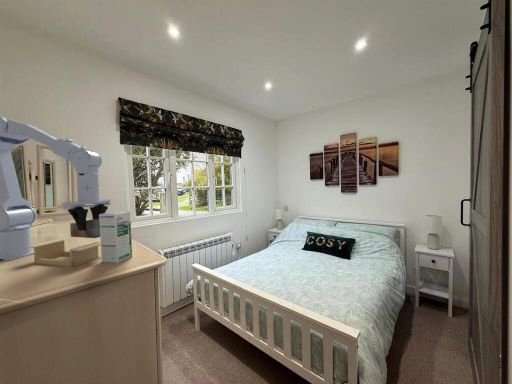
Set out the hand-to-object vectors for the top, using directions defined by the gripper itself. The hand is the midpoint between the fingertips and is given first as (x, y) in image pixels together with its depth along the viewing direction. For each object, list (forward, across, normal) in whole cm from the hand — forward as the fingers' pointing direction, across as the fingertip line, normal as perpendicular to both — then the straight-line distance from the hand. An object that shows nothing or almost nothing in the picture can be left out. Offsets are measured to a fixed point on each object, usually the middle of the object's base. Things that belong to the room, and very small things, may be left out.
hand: (89, 228), depth 72 cm
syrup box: (+9, -3, -14) cm, 16 cm away
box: (+2, 0, 0) cm, 2 cm away
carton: (+8, -7, 0) cm, 11 cm away
